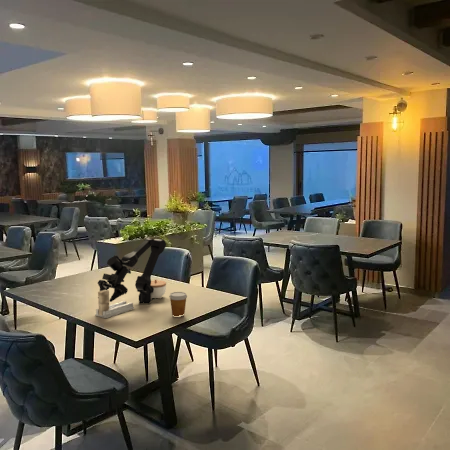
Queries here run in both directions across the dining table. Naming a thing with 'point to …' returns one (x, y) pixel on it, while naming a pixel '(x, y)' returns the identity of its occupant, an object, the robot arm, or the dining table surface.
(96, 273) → the dining table surface
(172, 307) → the disposable coffee cup
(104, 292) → the beige tall block
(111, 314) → the door track
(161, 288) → the lidded bowl
